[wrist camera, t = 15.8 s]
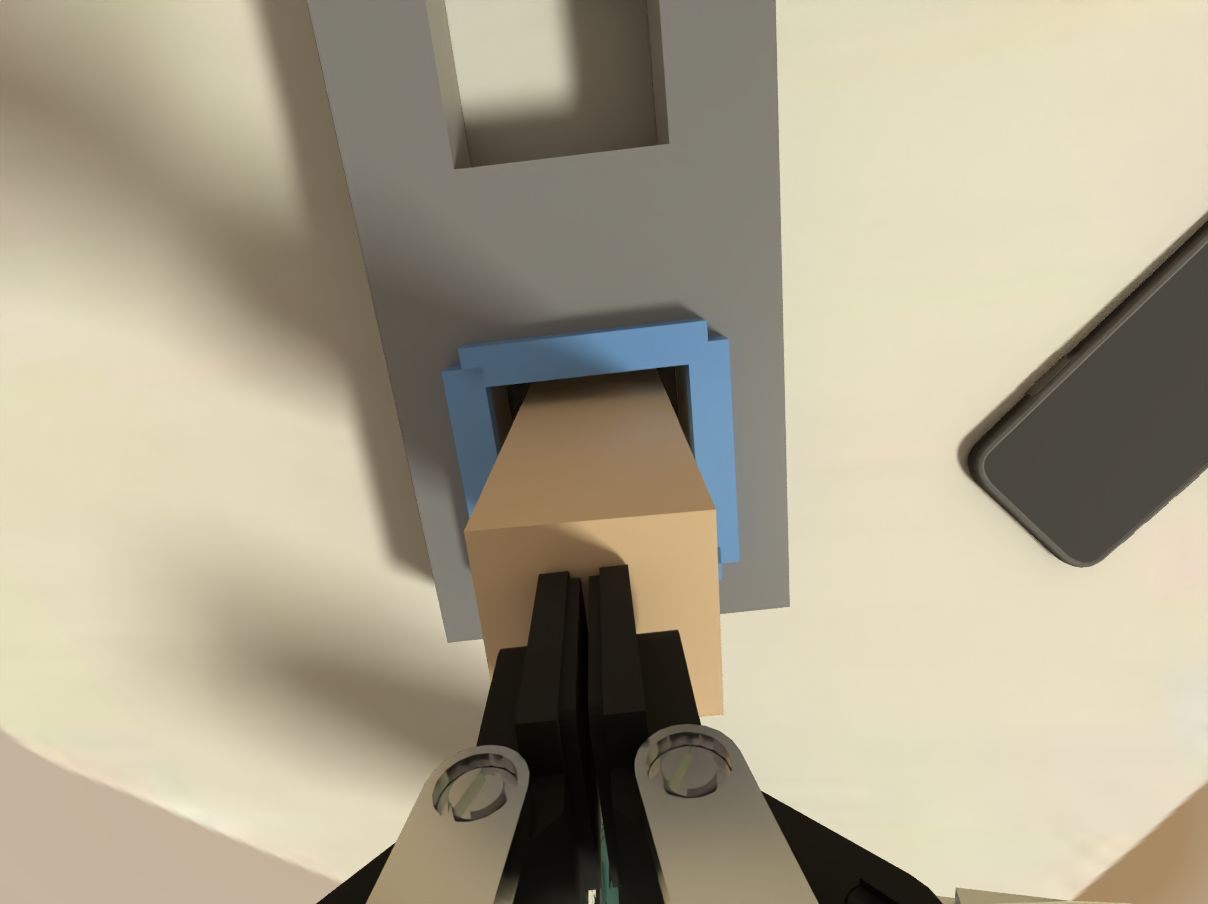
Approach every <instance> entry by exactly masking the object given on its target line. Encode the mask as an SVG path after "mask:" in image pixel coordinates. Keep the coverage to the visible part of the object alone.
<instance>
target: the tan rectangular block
mask: <svg viewBox="0 0 1208 904" xmlns="http://www.w3.org/2000/svg"><path fill="white" fill-rule="evenodd" d="M464 535H465V541H466V546H467V552H468V557H469V563H470V568H471V574H472V579H473V585H474V590H475V596H476V601H477V607H478V612H479V618H480V623H481V629H482V634H483V640H484V645H485V651H486V656H487V662H488V667H489V673H490V678H491V681H492V677H493V673H494V668H495V664H496V660H497V656H498V653H499V650H500V649H503V648H512V647H522V646H527V643H528V637H529V631H530V625H531V619H532V613H533V607H534V601H535V594H536V588H537V582H538V576H539V574H545V573H554V572H563V571H568V572H569V575H570V578H579V577H580V579H581V584H582V591H583V598H584V605H585V613H586V620H587V627H588V624H589V576H597V575H600V572H599V568H600V567H609V566H618V565H627V564H628V569H629V577H630V585H631V594H632V602H633V610H634V618H635V627H636V634H641V633H650V632H660V631H669V630H678V631H679V634H680V638H681V642H682V646H683V650H684V655H685V659H686V663H687V668H688V672H689V676H690V680H691V685H692V689H693V693H694V697H695V702H696V706H697V710H698V714H699V717H701V716H714V715H724V711H723V684H722V657H721V630H720V603H719V576H718V549H717V522H716V508H715V506H714V504H713V501H712V499H711V496H710V494H709V492H708V489H707V487H706V485H705V482H704V480H703V478H702V475H701V473H700V471H699V468H698V466H697V464H696V461H695V459H694V456H693V454H692V452H691V449H690V447H689V445H688V442H687V440H686V438H685V435H684V433H683V431H682V428H681V426H680V423H679V421H678V419H677V416H676V414H675V412H674V409H673V407H672V405H671V402H670V400H669V398H668V395H667V393H666V391H665V388H664V386H663V383H662V381H661V379H660V376H659V374H658V372H657V369H653V370H642V371H631V372H620V373H610V374H599V375H590V376H581V377H572V378H563V379H554V380H546V381H537V382H532V383H531V385H530V387H529V389H528V391H527V394H526V396H525V398H524V400H523V402H522V405H521V407H520V409H519V411H518V413H517V416H516V418H515V420H514V422H513V424H512V427H511V429H510V431H509V433H508V435H507V438H506V440H505V442H504V444H503V446H502V449H501V451H500V453H499V455H498V457H497V460H496V462H495V464H494V466H493V468H492V471H491V473H490V475H489V477H488V479H487V482H486V484H485V486H484V488H483V490H482V493H481V495H480V497H479V499H478V501H477V504H476V506H475V508H474V510H473V512H472V514H471V517H470V519H469V521H468V523H467V525H466V528H465V530H464Z"/></svg>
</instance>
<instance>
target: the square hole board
mask: <svg viewBox="0 0 1208 904" xmlns="http://www.w3.org/2000/svg"><path fill="white" fill-rule="evenodd" d="M307 3H308V7H309V12H310V16H311V21H312V26H313V30H314V35H315V39H316V44H317V48H318V53H319V57H320V62H321V67H322V71H323V76H324V80H325V85H326V89H327V94H328V99H329V103H330V108H331V112H332V117H333V121H334V126H335V130H336V135H337V140H338V144H339V149H340V153H341V158H342V162H343V167H344V172H345V176H346V181H347V185H348V190H349V194H350V199H351V203H352V208H353V213H354V217H355V222H356V226H357V231H358V235H359V240H360V245H361V249H362V254H363V258H364V263H365V267H366V272H367V276H368V281H369V286H370V290H371V295H372V299H373V304H374V308H375V313H376V318H377V322H378V327H379V331H380V336H381V340H382V345H383V349H384V354H385V359H386V363H387V368H388V372H389V377H390V381H391V386H392V391H393V395H394V400H395V404H396V409H397V413H398V418H399V422H400V427H401V432H402V436H403V441H404V445H405V450H406V454H407V459H408V464H409V468H410V473H411V477H412V482H413V486H414V491H415V495H416V500H417V505H418V509H419V514H420V518H421V523H422V527H423V532H424V537H425V541H426V546H427V550H428V555H429V559H430V564H431V568H432V573H433V578H434V582H435V587H436V591H437V596H438V600H439V605H440V610H441V614H442V619H443V623H444V628H445V632H446V637H447V641H448V643H449V642H458V641H468V640H477V639H483V634H482V629H481V623H480V618H479V612H478V607H477V601H476V596H475V590H474V585H473V579H472V574H471V568H470V563H469V557H468V552H467V546H466V541H465V535H464V530H465V528H466V525H467V523H468V521H469V519H470V517H471V514H472V512H473V510H474V508H475V506H476V504H477V501H478V499H479V497H480V495H481V493H482V490H483V488H484V486H485V484H486V482H487V479H488V477H489V475H490V473H491V471H492V468H493V466H494V464H495V462H496V460H497V457H498V455H499V453H500V451H501V449H502V446H503V444H504V442H505V440H506V438H507V435H508V433H509V431H510V429H511V427H512V424H513V422H512V416H511V410H510V404H509V398H508V391H507V385H510V384H519V383H528V382H537V381H546V380H554V379H563V378H572V377H581V376H590V375H599V374H608V373H616V372H625V371H634V370H643V369H652V368H661V367H669V366H675V374H676V387H677V399H678V412H679V423H680V426H681V428H682V431H683V433H684V435H685V438H686V440H687V442H688V445H689V447H690V449H691V452H692V454H693V456H694V459H695V461H696V464H697V466H698V468H699V471H700V473H701V475H702V478H703V480H704V482H705V485H706V487H707V489H708V492H709V494H710V496H711V499H712V501H713V504H714V506H715V508H716V522H717V549H718V576H719V603H720V614H725V613H734V612H744V611H753V610H763V609H772V608H782V607H790V599H789V556H788V513H787V471H786V428H785V385H784V342H783V299H782V256H781V213H780V171H779V128H778V85H777V42H776V0H647V11H648V24H649V37H650V50H651V63H652V76H653V89H654V101H655V114H656V127H657V140H658V145H654V146H646V147H637V148H629V149H621V150H612V151H604V152H596V153H587V154H579V155H571V156H562V157H554V158H546V159H537V160H529V161H521V162H513V163H504V164H496V165H488V166H479V167H471V163H470V156H469V150H468V144H467V138H466V132H465V126H464V119H463V113H462V107H461V101H460V95H459V89H458V82H457V76H456V70H455V64H454V58H453V51H452V45H451V39H450V33H449V27H448V21H447V14H446V8H445V2H444V0H307Z"/></svg>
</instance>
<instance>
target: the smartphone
mask: <svg viewBox="0 0 1208 904" xmlns="http://www.w3.org/2000/svg"><path fill="white" fill-rule="evenodd" d="M1026 394H1027V395H1026V396H1025V397H1023V398H1022V399H1021V400H1020V401H1019V402H1018V403H1017V404H1016V405H1015V406H1014V407H1013V408H1012V409H1011V410H1010V411H1009V412H1008V413H1007V414H1006V415H1005V416H1004V417H1003V418H1002V419H1001V420H1000V421H999V422H998V423H997V424H996V425H995V426H994V427H993V428H992V429H990V430H989V431H988V432H987V433H986V434H985V435H984V436H983V437H982V438H981V439H980V440H979V441H978V442H977V443H976V444H975V446H974V447H973V448H972V450H971V452H970V454H969V457H968V466H969V471H970V473H971V475H972V477H973V478H974V479H975V481H976V482H977V483H978V484H979V485H980V486H981V487H982V488H983V489H984V490H986V491H987V492H988V493H989V494H990V495H991V496H992V497H993V498H994V499H995V500H996V501H997V502H998V503H999V504H1001V505H1002V506H1003V507H1004V508H1005V509H1006V510H1007V511H1008V512H1009V513H1010V514H1011V515H1012V516H1013V517H1014V518H1016V519H1017V520H1018V521H1019V522H1020V523H1021V524H1022V525H1023V526H1024V527H1025V528H1026V529H1027V530H1028V531H1029V532H1030V533H1031V534H1033V535H1034V536H1035V537H1036V538H1037V539H1038V540H1039V541H1040V542H1041V543H1042V544H1043V545H1044V546H1045V547H1046V548H1047V549H1048V550H1050V551H1051V552H1052V553H1053V554H1054V555H1055V556H1056V557H1057V558H1058V559H1059V560H1061V561H1063V562H1064V563H1067V564H1069V565H1072V566H1075V567H1090V566H1093V565H1095V564H1097V563H1099V562H1100V561H1102V560H1103V559H1104V558H1106V557H1107V556H1108V555H1109V554H1110V553H1111V552H1112V551H1114V550H1115V549H1116V548H1117V547H1118V546H1119V545H1120V544H1122V543H1123V542H1125V541H1126V540H1127V539H1128V538H1129V537H1130V536H1131V535H1133V534H1134V532H1135V531H1136V530H1138V529H1139V528H1140V527H1141V526H1142V525H1143V524H1144V523H1146V522H1147V521H1149V520H1150V519H1151V518H1152V517H1153V516H1154V515H1155V514H1157V513H1158V512H1159V511H1160V510H1161V509H1162V508H1163V507H1165V506H1166V505H1167V504H1168V502H1170V501H1171V500H1172V499H1173V498H1174V497H1175V496H1177V495H1178V494H1179V493H1181V492H1182V491H1183V490H1184V489H1185V488H1186V487H1187V486H1189V485H1190V484H1191V483H1192V482H1193V481H1194V480H1195V479H1197V478H1198V477H1199V475H1200V474H1202V473H1203V472H1204V471H1205V470H1206V469H1207V468H1208V221H1207V222H1206V223H1205V224H1204V225H1203V226H1202V227H1201V228H1200V229H1199V230H1198V231H1197V232H1196V233H1195V234H1194V235H1193V236H1192V237H1191V238H1189V239H1188V240H1187V241H1186V242H1185V243H1184V244H1183V245H1182V246H1181V247H1180V248H1179V249H1178V250H1177V251H1176V252H1175V253H1174V254H1173V255H1172V256H1171V257H1170V258H1168V259H1167V260H1166V261H1165V262H1164V263H1163V264H1162V265H1161V266H1160V267H1159V268H1158V269H1157V270H1156V271H1155V272H1154V273H1153V274H1152V275H1151V276H1150V277H1149V278H1148V279H1146V280H1145V281H1144V282H1143V283H1142V284H1141V285H1140V286H1139V287H1138V288H1137V289H1136V290H1135V291H1134V292H1133V293H1132V294H1131V295H1130V296H1129V297H1128V298H1127V299H1126V300H1124V301H1123V302H1122V303H1121V304H1120V305H1119V306H1118V307H1117V308H1116V309H1115V310H1114V311H1113V312H1112V313H1111V314H1110V315H1109V316H1108V317H1107V318H1106V319H1105V320H1104V321H1102V322H1101V323H1100V324H1099V325H1098V326H1097V327H1096V328H1095V329H1094V330H1093V331H1092V332H1091V333H1090V334H1089V335H1088V336H1087V337H1086V338H1085V339H1084V340H1083V341H1082V342H1080V343H1079V344H1078V345H1077V346H1076V347H1075V348H1074V349H1073V350H1072V351H1071V352H1070V353H1069V354H1068V355H1067V356H1066V357H1063V358H1062V359H1060V360H1059V361H1058V362H1057V363H1056V364H1055V365H1054V366H1053V367H1052V368H1051V369H1050V370H1049V371H1048V372H1047V373H1046V374H1045V375H1044V376H1043V377H1042V378H1041V379H1040V380H1039V381H1038V382H1036V383H1035V384H1034V385H1033V386H1032V387H1031V388H1030V389H1029V390H1028V391H1027V392H1026Z"/></svg>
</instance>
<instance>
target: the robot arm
mask: <svg viewBox="0 0 1208 904" xmlns="http://www.w3.org/2000/svg"><path fill="white" fill-rule="evenodd" d="M599 572H600V575H597V576H589V624H588V627H587V620H586V613H585V605H584V598H583V591H582V584H581V579H580V577H579V578H570V575H569V572H568V571H563V572H554V573H545V574H539V576H538V582H537V588H536V594H535V601H534V607H533V613H532V619H531V625H530V631H529V637H528V643H527V646H522V647H512V648H503V649H500V650H499V653H498V656H497V660H496V664H495V668H494V673H493V677H492V681H491V686H490V690H489V694H488V699H487V703H486V707H485V711H484V716H483V720H482V724H481V729H480V733H479V737H478V741H477V746H476V747H473V748H470V749H467V750H464V751H461V752H459V753H457V754H456V755H454V756H452V757H450V758H449V759H447V760H445V761H444V762H443V763H442V764H441V765H440V766H439V767H438V768H437V769H435V770H434V771H433V773H432V774H431V775H430V777H429V778H428V780H427V781H426V783H425V784H424V786H423V788H422V790H421V792H420V794H419V796H418V799H417V801H416V803H415V805H414V807H413V809H412V811H411V813H410V815H409V817H408V819H407V821H406V823H405V825H404V827H403V829H402V831H401V833H400V835H399V837H398V839H397V841H396V843H394V844H393V845H392V846H390V847H389V848H388V849H386V850H385V851H384V852H383V853H381V854H380V855H379V856H377V857H376V858H375V859H374V860H372V861H371V862H370V863H368V864H367V865H366V866H364V867H363V868H362V869H361V870H359V871H358V872H357V873H355V874H354V875H353V876H351V877H350V878H349V879H348V880H346V881H345V882H344V883H342V884H341V885H340V886H339V887H337V888H336V889H335V890H333V891H332V892H331V893H329V894H328V895H327V896H326V897H324V898H323V899H322V900H320V901H319V902H318V903H317V904H588V890H596V889H601V887H602V868H601V812H602V819H603V826H604V833H605V840H606V847H607V854H608V860H609V867H610V874H611V881H612V887H613V888H615V887H623V888H624V896H625V903H626V904H1128V903H1107V902H1081V901H1065V900H1057V899H1048V898H1040V897H1032V896H1023V895H1015V894H1006V893H998V892H989V891H981V890H972V889H964V888H956V893H955V898H949V897H941V896H936V895H935V894H934V893H933V892H932V891H931V890H930V889H929V888H928V887H927V886H925V885H924V884H923V883H921V882H920V881H918V880H917V879H916V878H914V877H913V876H911V875H910V874H908V873H907V872H905V871H903V870H901V869H900V868H898V867H896V866H894V865H892V864H891V863H889V862H887V861H885V860H883V859H882V858H880V857H878V856H876V855H875V854H873V853H871V852H869V851H867V850H866V849H864V848H862V847H860V846H859V845H857V844H855V843H853V842H851V841H850V840H848V839H846V838H844V837H843V836H841V835H839V834H837V833H835V832H834V831H832V830H830V829H828V828H826V827H825V826H823V825H821V824H819V823H818V822H816V821H814V820H812V819H810V818H809V817H807V816H805V815H803V814H802V813H800V812H798V811H796V810H794V809H793V808H791V807H789V806H787V805H785V804H784V803H782V802H780V801H778V800H777V799H775V798H773V797H771V796H769V795H768V794H766V793H764V792H762V791H761V790H760V788H759V786H758V784H757V782H756V781H755V779H754V777H753V775H752V773H751V771H750V769H749V767H748V765H747V763H746V761H745V759H744V757H743V755H742V753H741V751H740V750H739V749H738V747H737V746H736V745H735V743H734V742H733V741H732V740H731V739H730V738H729V737H727V736H726V735H724V734H723V733H722V732H720V731H718V730H715V729H712V728H710V727H707V726H703V725H701V723H700V719H699V714H698V710H697V706H696V702H695V697H694V693H693V689H692V685H691V680H690V676H689V672H688V668H687V663H686V659H685V655H684V650H683V646H682V642H681V638H680V634H679V631H678V630H669V631H660V632H650V633H641V634H636V627H635V618H634V610H633V602H632V594H631V585H630V577H629V569H628V564H627V565H618V566H609V567H600V568H599ZM600 805H601V810H600Z"/></svg>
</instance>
